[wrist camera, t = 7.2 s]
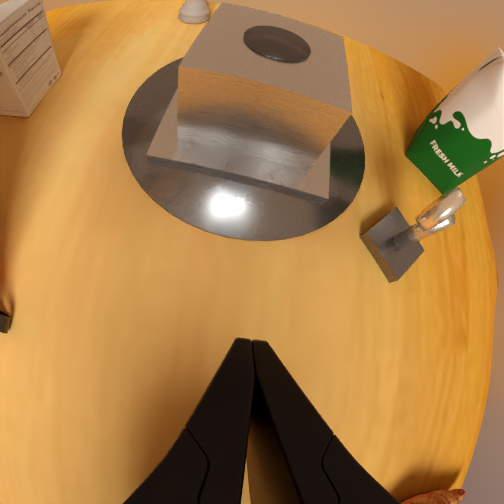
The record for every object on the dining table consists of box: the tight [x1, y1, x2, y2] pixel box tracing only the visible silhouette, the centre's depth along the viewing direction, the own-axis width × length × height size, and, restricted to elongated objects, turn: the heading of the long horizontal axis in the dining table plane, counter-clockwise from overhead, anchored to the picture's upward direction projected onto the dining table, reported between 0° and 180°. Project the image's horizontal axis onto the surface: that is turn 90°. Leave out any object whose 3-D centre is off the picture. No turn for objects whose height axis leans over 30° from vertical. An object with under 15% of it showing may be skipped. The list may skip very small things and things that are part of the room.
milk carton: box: [405, 47, 504, 194], centre depth 20 cm, size 9×9×20 cm
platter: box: [122, 57, 365, 241], centre depth 25 cm, size 24×24×1 cm
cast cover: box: [146, 3, 352, 205], centre depth 21 cm, size 15×15×9 cm
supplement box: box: [0, 0, 62, 117], centre depth 15 cm, size 7×7×13 cm
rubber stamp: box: [360, 187, 466, 283], centre depth 20 cm, size 5×5×10 cm
